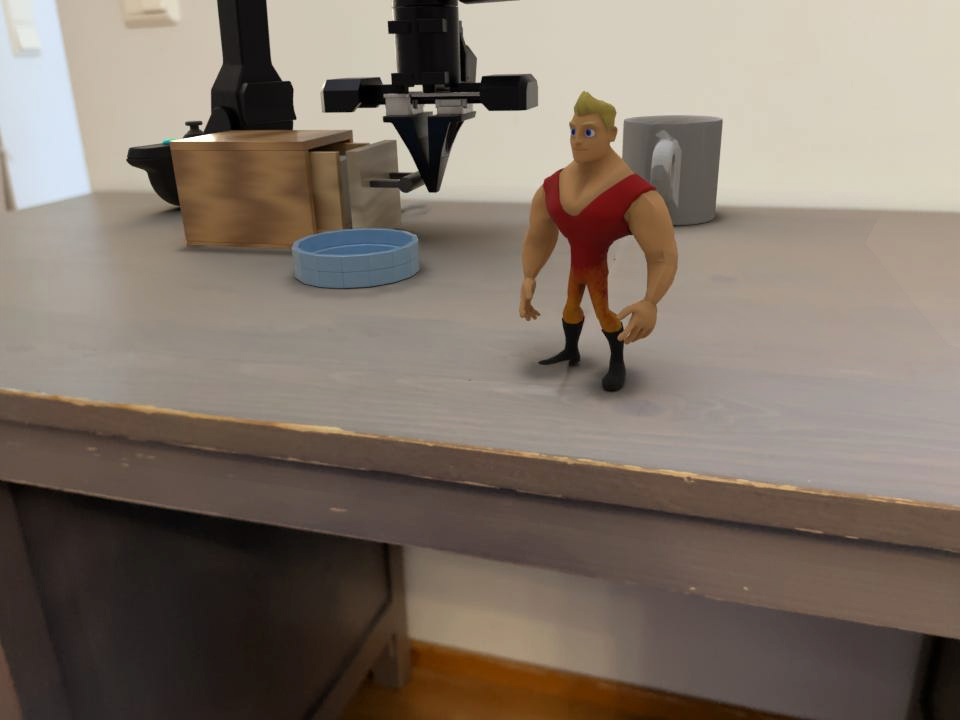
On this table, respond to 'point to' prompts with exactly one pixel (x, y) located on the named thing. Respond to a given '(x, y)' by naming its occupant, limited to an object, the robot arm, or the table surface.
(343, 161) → the block
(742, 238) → the table surface
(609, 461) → the table surface
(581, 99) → the action figure
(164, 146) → the controller
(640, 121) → the coffee mug
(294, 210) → the cabinet
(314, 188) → the drawer
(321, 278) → the bowl
